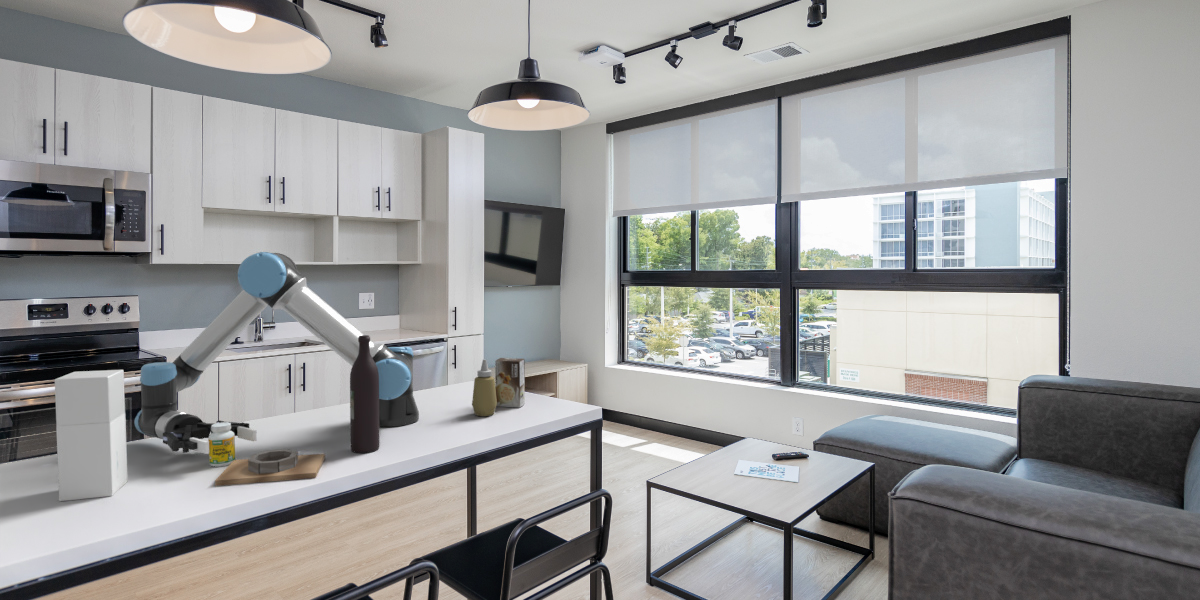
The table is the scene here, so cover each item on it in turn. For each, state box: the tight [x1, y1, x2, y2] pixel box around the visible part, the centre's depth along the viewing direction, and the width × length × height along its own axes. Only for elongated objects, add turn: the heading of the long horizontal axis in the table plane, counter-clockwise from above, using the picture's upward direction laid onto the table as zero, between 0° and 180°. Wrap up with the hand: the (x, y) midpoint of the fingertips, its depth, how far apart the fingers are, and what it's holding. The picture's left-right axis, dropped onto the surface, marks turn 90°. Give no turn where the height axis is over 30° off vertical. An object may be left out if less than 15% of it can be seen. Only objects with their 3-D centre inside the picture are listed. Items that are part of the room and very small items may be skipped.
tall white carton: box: [54, 369, 128, 502], centre depth 125 cm, size 9×9×25 cm
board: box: [214, 448, 326, 487], centre depth 139 cm, size 20×14×4 cm
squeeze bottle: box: [471, 358, 497, 417], centre depth 193 cm, size 8×8×18 cm
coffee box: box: [494, 357, 526, 408], centre depth 207 cm, size 9×6×16 cm
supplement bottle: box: [207, 421, 236, 468], centre depth 144 cm, size 5×5×10 cm
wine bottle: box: [349, 334, 380, 454], centre depth 155 cm, size 7×7×30 cm
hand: (232, 441), depth 142 cm, fingers open, 10 cm apart
